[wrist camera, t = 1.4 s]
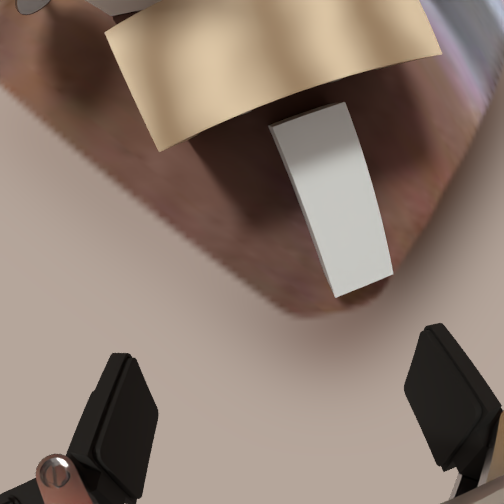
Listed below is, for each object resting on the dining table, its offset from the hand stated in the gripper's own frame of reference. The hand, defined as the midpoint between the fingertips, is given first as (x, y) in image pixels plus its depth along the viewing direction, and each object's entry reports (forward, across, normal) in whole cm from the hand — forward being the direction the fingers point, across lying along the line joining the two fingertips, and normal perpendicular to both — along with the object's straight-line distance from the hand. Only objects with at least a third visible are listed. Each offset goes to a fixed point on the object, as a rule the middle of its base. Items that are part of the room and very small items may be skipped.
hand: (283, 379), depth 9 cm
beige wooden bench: (+22, -2, -14) cm, 26 cm away
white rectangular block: (+22, -7, 0) cm, 23 cm away
